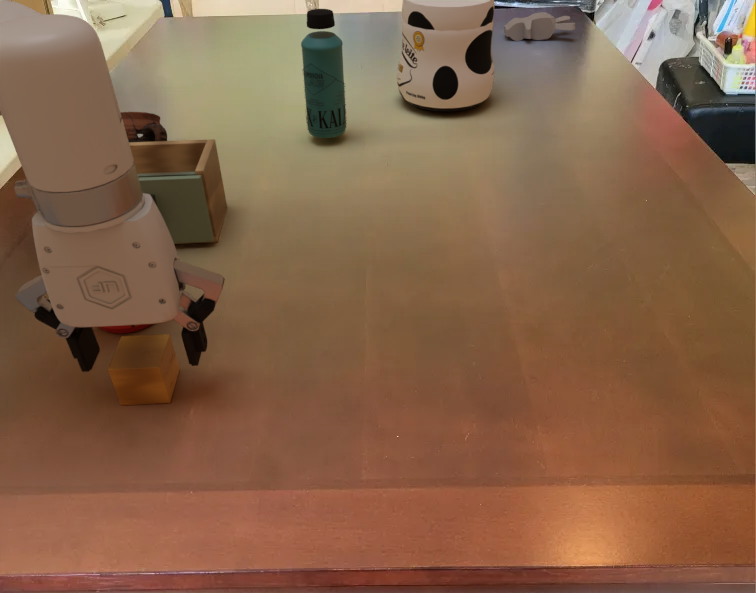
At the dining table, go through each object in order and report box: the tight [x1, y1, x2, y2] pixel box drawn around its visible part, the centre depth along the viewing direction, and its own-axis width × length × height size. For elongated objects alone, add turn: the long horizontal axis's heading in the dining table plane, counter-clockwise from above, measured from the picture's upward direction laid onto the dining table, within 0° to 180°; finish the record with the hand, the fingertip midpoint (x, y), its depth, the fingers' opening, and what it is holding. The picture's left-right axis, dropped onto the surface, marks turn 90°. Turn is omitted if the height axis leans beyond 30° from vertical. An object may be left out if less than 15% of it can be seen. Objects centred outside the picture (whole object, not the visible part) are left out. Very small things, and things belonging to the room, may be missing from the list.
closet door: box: [139, 175, 214, 244], centre depth 79 cm, size 8×2×9 cm, turn 93°
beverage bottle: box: [300, 8, 348, 139], centre depth 102 cm, size 6×7×20 cm
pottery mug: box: [120, 111, 168, 142], centre depth 102 cm, size 12×10×8 cm
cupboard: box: [129, 139, 228, 245], centre depth 83 cm, size 16×9×10 cm, turn 93°
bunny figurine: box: [503, 11, 576, 42], centre depth 149 cm, size 10×5×15 cm
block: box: [107, 333, 181, 406], centre depth 61 cm, size 5×5×5 cm
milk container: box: [396, 0, 495, 112], centre depth 115 cm, size 17×17×18 cm
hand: (144, 358), depth 60 cm, fingers open, 9 cm apart
